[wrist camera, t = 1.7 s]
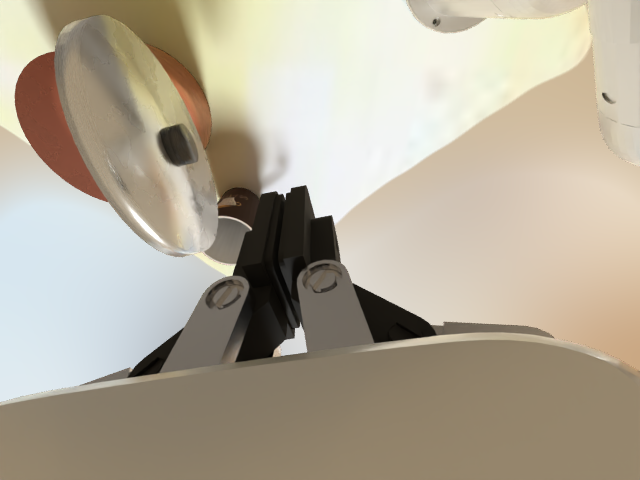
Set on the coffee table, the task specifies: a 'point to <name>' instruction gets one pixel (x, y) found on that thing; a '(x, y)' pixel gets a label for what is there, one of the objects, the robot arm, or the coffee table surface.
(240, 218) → the coffee mug
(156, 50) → the red-brown rounded block
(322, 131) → the coffee table surface
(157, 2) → the coffee table surface
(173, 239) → the cooker lid
